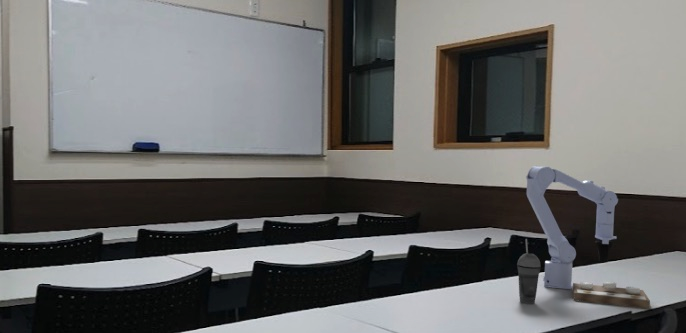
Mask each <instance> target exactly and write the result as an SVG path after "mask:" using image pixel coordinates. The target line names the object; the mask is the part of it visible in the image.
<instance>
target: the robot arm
mask: <svg viewBox="0 0 686 333" xmlns="http://www.w3.org/2000/svg"><path fill="white" fill-rule="evenodd" d="M525 178H526V181H527V182H526V196H527V199H528V201H529V203H530V205H531V207H532V210H533V211H534V213H535V215H536V218H537V220H538V221H539V224H540V226H541V228H542V230H543V232H544V234H545V237H546V238H547V240H546V243H547V246H548V253H549V255H550V257H551V258H550V260H545V261H544V276H543V278H542V279H543V280H542V281H543V284H544V285H543V286H544V287H545V288H556V289H564V290H573V282H572V278H573V262H574V260H575V259H576V256H577V252H576V249H575V247H574V246H573V245H571V244H570V243H569V241H568V239H567V238H566V237H565V236H564V235H563V233H562V231H561V229H560V227H559V224H558V223H557V221H556V219H555V217H554V215H553V213H552V210H551V208H550V207H549V204H548V203H547V200H546V198H545V193H546V190H547V189H548V188H549V187H550V186H551V184H552V183H560V184H562V185H564V186H567V187H569V188H572V189H574V190H576V191H577V194H578V195H579V196H580V197H583V198H585V199H587V200H590V201H591V202H594V203H595V204H596V218H595V219H596V221H595V222H596V223H595V235H594V238H596V239H597V240H595V244H596V247H597V252H598V260H599V262H600V263H601V262H602V263H607V261H608V257H609V253H610V250H611V248H612V247H613V245H614V243H613V241H611V240H617V235H616V236H614V226H615V225H614V221H615V206H617V204H618V202H619V198H618V196H617V194H616V193H615V192H614V191H612V190H606V187H604V186H600V185H597V184H595V183H594V181H592V180H590V179H589V180H583V181H581V180H578V179H576V178H574V177H573V176H570V175H569V174H566V173H564V172H562V171H561V170H558V169H555V168H551V167H550V166H540V165H539V166H538V165H535V166H532V167H530V168H529V170H528V172H527V175H526V176H525Z"/></svg>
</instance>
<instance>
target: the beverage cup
mask: <svg viewBox="0 0 686 333" xmlns="http://www.w3.org/2000/svg"><path fill="white" fill-rule="evenodd" d="M528 248H529V247H528V238H525V252H526V253H523V254H522V255H521V256H519V259H518V260H517V263H516V266H517V273H518V274H517V276H518V294H519V302H520V303H522V304H524V305H525V304H526V305H535V303H536V299H537V290H538V283H539V277H540V276H539V275H540V272H541V268H542V266H541V261H540V259H539V258H538V255H536V254H534V253H529V250H528Z"/></svg>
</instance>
